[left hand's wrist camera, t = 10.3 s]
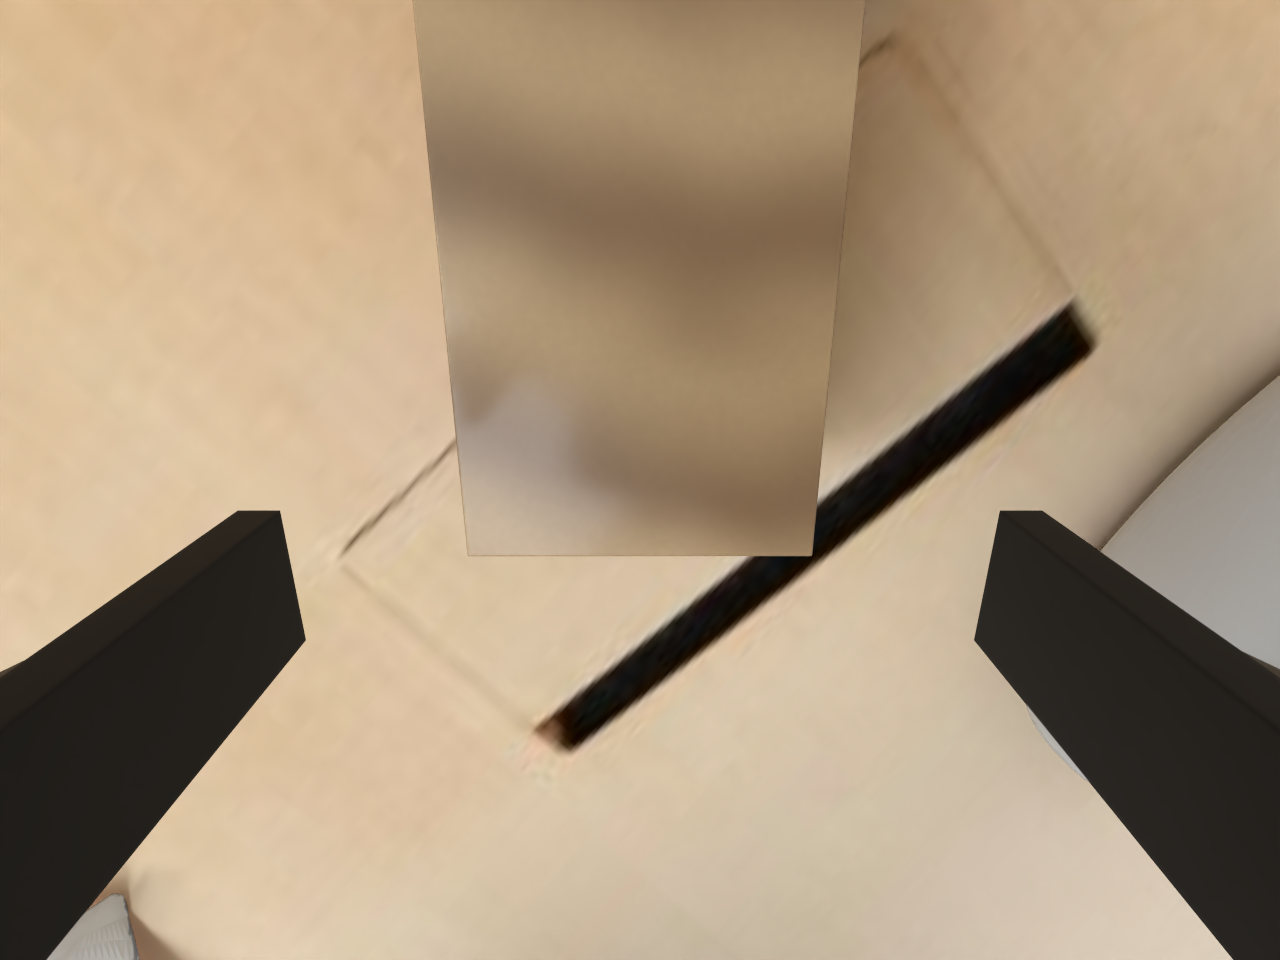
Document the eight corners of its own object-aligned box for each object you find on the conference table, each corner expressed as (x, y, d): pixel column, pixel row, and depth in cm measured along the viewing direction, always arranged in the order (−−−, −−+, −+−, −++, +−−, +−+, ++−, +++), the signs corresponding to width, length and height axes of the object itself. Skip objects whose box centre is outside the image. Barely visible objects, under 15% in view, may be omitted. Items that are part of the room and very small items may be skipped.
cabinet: (485, -104, 23) (378, -333, 14) (792, -104, 23) (898, -334, 14) (521, 453, 30) (467, 556, 21) (758, 453, 30) (812, 556, 21)
